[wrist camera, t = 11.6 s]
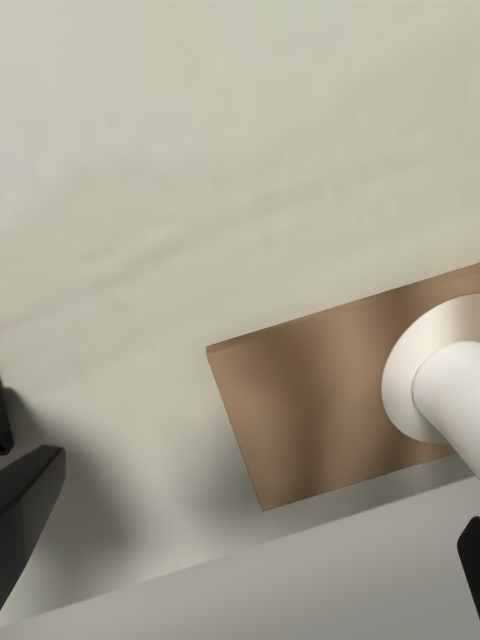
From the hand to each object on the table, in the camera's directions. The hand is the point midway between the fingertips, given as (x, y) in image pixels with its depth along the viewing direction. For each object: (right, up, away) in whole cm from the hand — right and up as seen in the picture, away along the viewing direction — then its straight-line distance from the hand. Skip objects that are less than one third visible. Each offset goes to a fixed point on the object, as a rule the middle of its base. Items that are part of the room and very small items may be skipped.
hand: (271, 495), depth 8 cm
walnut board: (+9, 0, +14) cm, 17 cm away
